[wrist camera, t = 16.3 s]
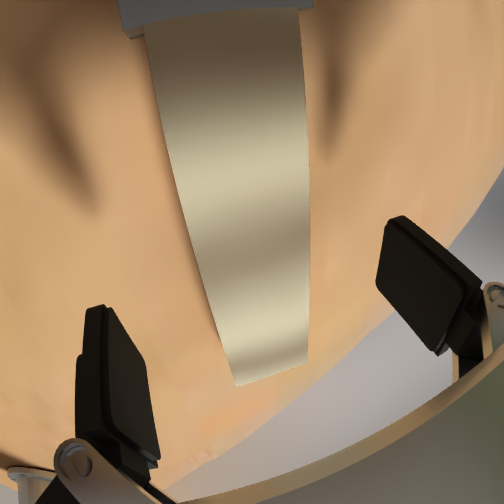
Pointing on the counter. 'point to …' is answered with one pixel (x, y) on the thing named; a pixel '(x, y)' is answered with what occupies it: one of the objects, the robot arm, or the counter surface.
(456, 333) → the robot arm
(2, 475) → the counter surface
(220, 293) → the wooden handle with ferrule
